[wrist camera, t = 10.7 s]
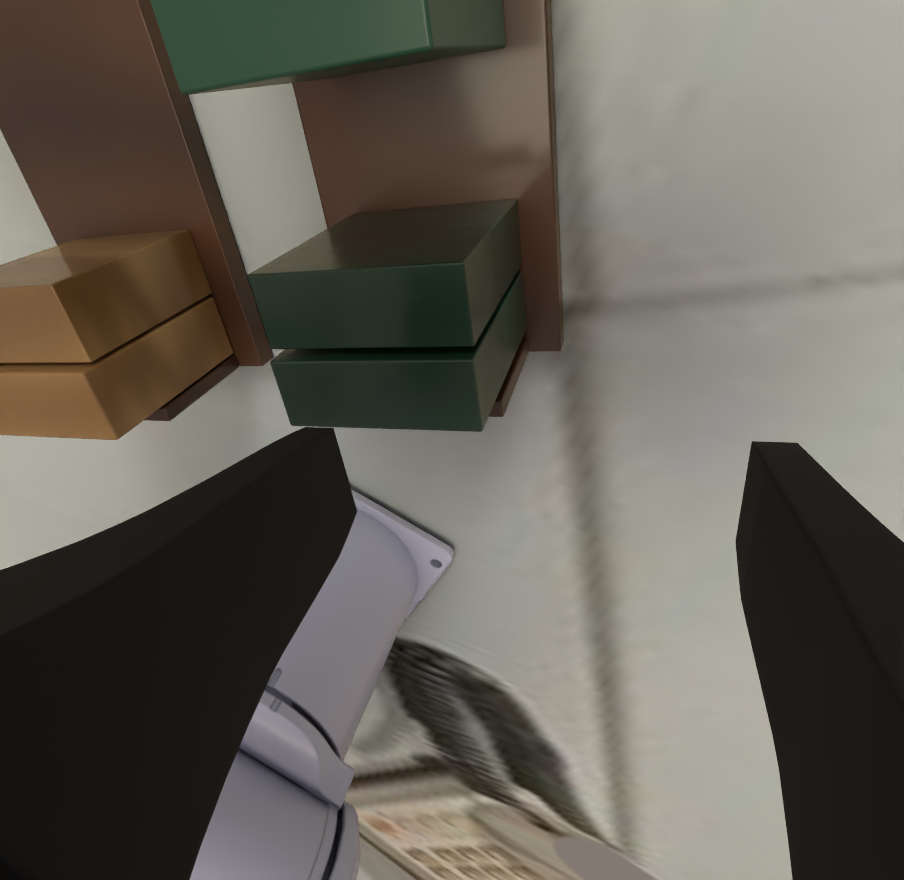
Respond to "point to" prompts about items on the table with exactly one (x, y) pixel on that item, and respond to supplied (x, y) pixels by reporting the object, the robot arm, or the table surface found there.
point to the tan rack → (112, 230)
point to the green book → (316, 37)
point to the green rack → (423, 240)
